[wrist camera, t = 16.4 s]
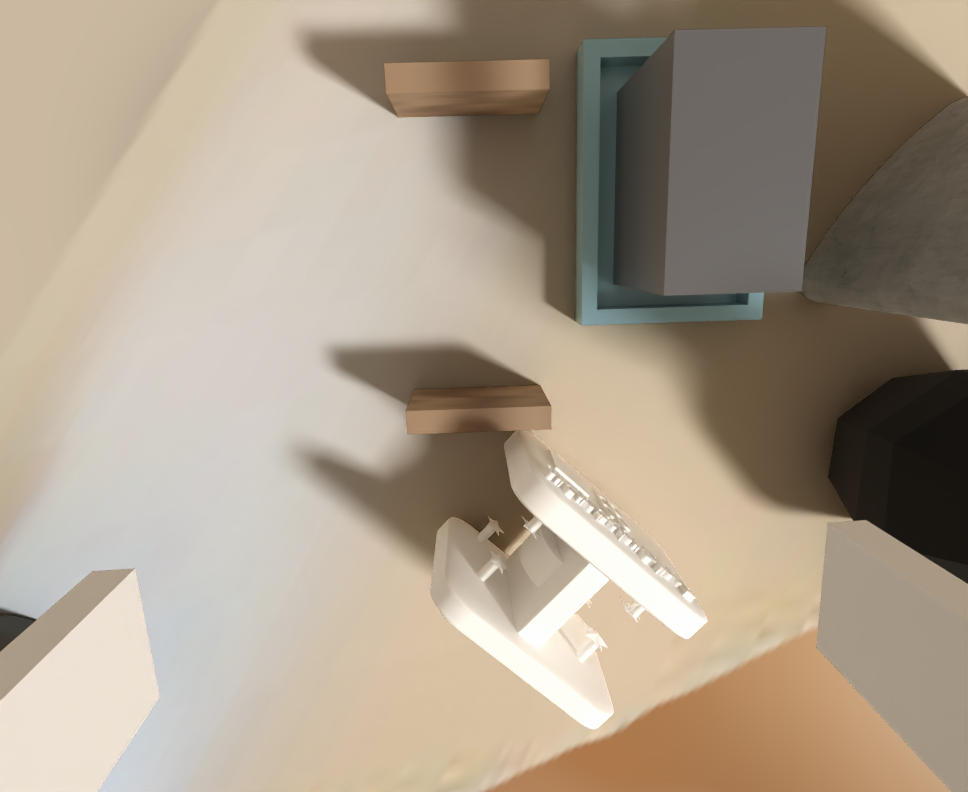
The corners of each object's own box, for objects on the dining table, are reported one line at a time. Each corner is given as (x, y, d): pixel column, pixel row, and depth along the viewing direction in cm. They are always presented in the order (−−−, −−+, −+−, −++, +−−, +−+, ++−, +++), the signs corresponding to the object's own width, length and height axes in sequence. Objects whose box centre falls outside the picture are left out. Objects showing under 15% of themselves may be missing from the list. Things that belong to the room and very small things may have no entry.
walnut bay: (415, 409, 43) (407, 434, 37) (396, 91, 38) (384, 63, 32) (540, 405, 43) (551, 429, 38) (537, 88, 38) (549, 59, 33)
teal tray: (575, 321, 42) (581, 325, 40) (576, 52, 38) (583, 39, 36) (745, 315, 42) (761, 319, 40) (764, 47, 38) (784, 34, 36)
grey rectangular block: (613, 284, 41) (663, 295, 30) (617, 92, 38) (674, 29, 27) (714, 280, 41) (801, 291, 30) (726, 89, 38) (826, 26, 28)
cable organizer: (427, 513, 45) (413, 600, 34) (522, 412, 44) (540, 468, 32) (570, 628, 48) (601, 745, 37) (665, 537, 46) (728, 630, 35)
